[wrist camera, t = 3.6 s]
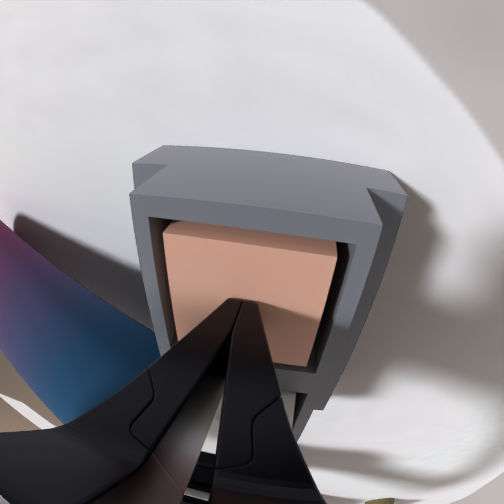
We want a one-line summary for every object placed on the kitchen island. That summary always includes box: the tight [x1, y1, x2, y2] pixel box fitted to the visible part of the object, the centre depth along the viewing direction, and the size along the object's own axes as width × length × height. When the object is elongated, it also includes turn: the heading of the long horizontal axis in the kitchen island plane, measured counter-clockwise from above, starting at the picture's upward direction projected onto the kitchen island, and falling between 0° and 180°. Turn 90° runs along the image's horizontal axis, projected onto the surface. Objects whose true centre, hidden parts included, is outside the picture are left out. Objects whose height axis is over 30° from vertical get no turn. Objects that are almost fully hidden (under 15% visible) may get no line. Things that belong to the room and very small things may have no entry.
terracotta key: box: [163, 220, 337, 367], centre depth 9 cm, size 4×4×2 cm
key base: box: [129, 146, 408, 442], centre depth 12 cm, size 13×9×5 cm
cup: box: [0, 220, 161, 424], centre depth 13 cm, size 7×7×15 cm
